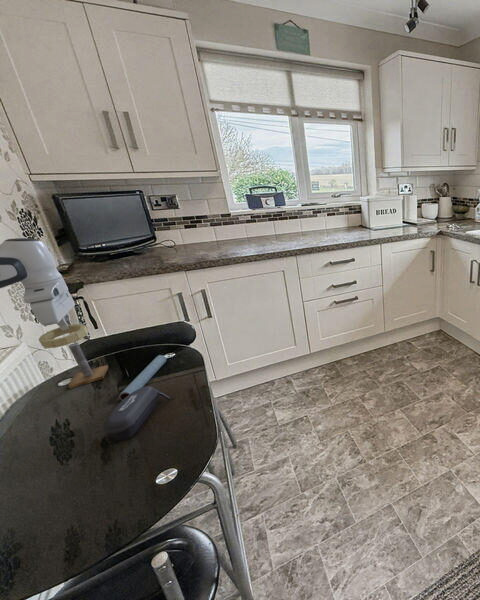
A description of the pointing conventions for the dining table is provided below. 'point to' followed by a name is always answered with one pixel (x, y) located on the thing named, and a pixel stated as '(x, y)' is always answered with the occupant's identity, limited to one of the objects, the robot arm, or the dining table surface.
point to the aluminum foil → (143, 376)
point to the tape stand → (85, 368)
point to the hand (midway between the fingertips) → (67, 328)
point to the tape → (50, 342)
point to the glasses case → (132, 413)
